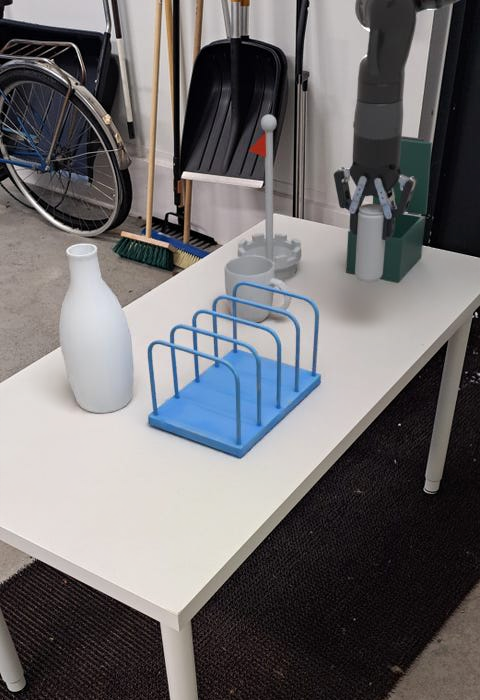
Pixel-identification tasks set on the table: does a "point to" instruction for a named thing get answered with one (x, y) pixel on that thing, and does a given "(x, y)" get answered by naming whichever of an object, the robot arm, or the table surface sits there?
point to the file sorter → (234, 384)
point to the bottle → (95, 337)
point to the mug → (258, 273)
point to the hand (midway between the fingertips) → (371, 235)
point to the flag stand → (271, 216)
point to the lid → (414, 172)
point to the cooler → (395, 248)
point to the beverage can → (370, 243)
